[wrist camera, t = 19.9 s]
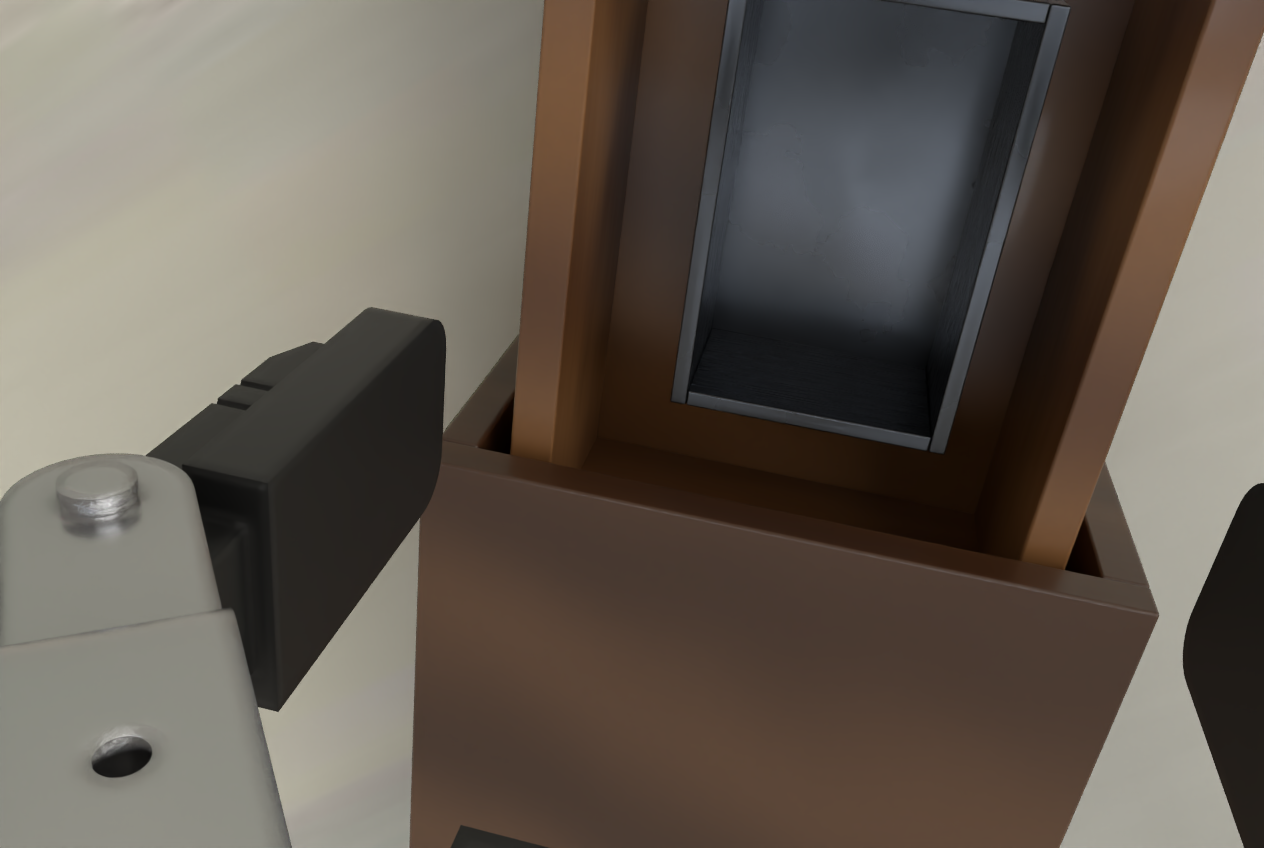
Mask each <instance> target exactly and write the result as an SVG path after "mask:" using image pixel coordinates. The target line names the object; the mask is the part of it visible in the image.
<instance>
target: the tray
mask: <svg viewBox="0 0 1264 848" xmlns="http://www.w3.org/2000/svg"><path fill="white" fill-rule="evenodd" d="M1070 11H1071V6H1070V5H1068V4H1067V3H1066V2H1065V1H1064V0H728V4H727V11H726V18H725V24H724V31H723V38H722V45H721V52H720V59H719V66H718V73H717V80H716V87H715V93H714V100H713V107H712V114H711V121H710V128H709V135H708V142H707V149H706V156H705V163H704V169H703V176H702V183H701V190H700V197H699V204H698V211H697V218H696V225H695V232H694V239H693V245H692V252H691V259H690V266H689V273H688V280H687V287H686V294H685V301H684V308H683V314H682V321H681V328H680V335H679V342H678V349H677V356H676V363H675V370H674V377H673V384H672V390H671V397H670V401H671V402H674V403H679V404H687V405H690V406H695V407H700V408H705V409H710V410H715V411H720V412H726V413H731V414H736V415H741V416H746V417H751V418H757V419H762V420H767V421H772V422H777V423H782V424H787V425H793V426H798V427H803V428H808V429H813V430H818V431H823V432H829V433H834V434H839V435H844V436H849V437H854V438H860V439H865V440H870V441H875V442H880V443H885V444H890V445H896V446H901V447H906V448H911V449H916V450H921V451H927V450H928V451H929V452H932V453H937V454H942V455H944V454H945V451H946V448H947V444H948V441H949V437H950V434H951V430H952V427H953V423H954V420H955V416H956V413H957V409H958V406H959V402H960V399H961V395H962V392H963V388H964V385H965V381H966V378H967V374H968V370H969V367H970V363H971V360H972V356H973V353H974V349H975V346H976V342H977V339H978V335H979V332H980V328H981V325H982V321H983V318H984V314H985V311H986V307H987V304H988V300H989V297H990V293H991V289H992V286H993V282H994V279H995V275H996V272H997V268H998V265H999V261H1000V258H1001V254H1002V251H1003V247H1004V244H1005V240H1006V237H1007V233H1008V230H1009V226H1010V223H1011V219H1012V216H1013V212H1014V208H1015V205H1016V201H1017V198H1018V194H1019V191H1020V187H1021V184H1022V180H1023V177H1024V173H1025V170H1026V166H1027V163H1028V159H1029V156H1030V152H1031V149H1032V145H1033V142H1034V138H1035V135H1036V131H1037V128H1038V124H1039V120H1040V117H1041V113H1042V110H1043V106H1044V103H1045V99H1046V96H1047V92H1048V89H1049V85H1050V82H1051V78H1052V75H1053V71H1054V68H1055V64H1056V61H1057V57H1058V54H1059V50H1060V47H1061V43H1062V39H1063V36H1064V32H1065V29H1066V25H1067V22H1068V18H1069V15H1070Z"/></svg>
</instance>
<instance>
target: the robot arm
mask: <svg viewBox="0 0 1264 848" xmlns="http://www.w3.org/2000/svg"><path fill="white" fill-rule="evenodd" d="M445 363H446V336H445V330H444V327H443V325H442V323H441V322H440V321H439V320H434V319H429V318H424V317H419V316H414V315H409V314H403V313H398V312H393V311H388V310H383V309H378V308H373V307H370V308H367V309H366V310H364V311H363V312H362V313H361V314H359V315H358V316H357V317H356V318H355V319H354V320H352V321H351V322H350V323H349V324H348V325H346V326H345V327H344V328H343V329H342V330H340V331H339V332H338V333H337V334H336V335H335V336H333V337H332V338H331V339H330V340H329V341H327V342H326V343H325V344H322V343H317V342H311V343H308V344H305V345H303V346H300V347H297V348H294V349H292V350H289V351H286V352H283V353H281V354H278V355H275V356H272V357H270V358H268V359H267V360H266V361H265V362H263V363H262V364H261V365H260V366H258V367H257V368H256V369H254V370H253V371H252V372H251V373H249V374H248V375H247V376H246V377H244V378H243V379H242V380H241V384H240V385H236V384H235V385H234V386H233V387H232V388H230V389H229V390H228V391H227V392H225V393H224V394H223V395H222V396H220V397H219V398H218V401H217V404H213V403H211V404H210V405H209V406H208V407H206V408H205V409H204V410H203V411H201V412H200V413H199V414H198V415H196V416H195V417H194V418H192V419H191V420H190V421H189V422H187V423H186V424H185V425H184V426H182V427H181V428H180V429H179V430H177V431H176V432H175V433H174V434H172V435H171V436H170V437H168V438H167V439H166V440H165V441H163V442H162V443H161V444H160V445H158V446H157V447H156V448H155V449H153V450H152V451H151V452H149V453H148V454H147V455H146V456H143V455H134V454H99V455H90V456H83V457H77V458H73V459H69V460H64V461H61V462H58V463H55V464H52V465H49V466H46V467H44V468H41V469H39V470H37V471H34V472H33V473H31V474H29V475H27V476H26V477H24V478H22V479H21V480H19V481H18V482H17V483H15V484H14V485H13V486H12V487H11V488H10V489H9V490H8V491H7V492H6V493H5V494H4V496H3V498H2V499H1V501H0V848H292V846H291V842H290V838H289V834H288V830H287V826H286V821H285V817H284V813H283V809H282V805H281V801H280V797H279V793H278V788H277V784H276V780H275V776H274V772H273V768H272V764H271V760H270V755H269V751H268V747H267V743H266V739H265V735H264V731H263V727H262V723H261V718H260V714H259V710H258V707H261V708H265V709H269V710H273V711H277V712H279V710H280V709H281V708H282V706H283V705H284V703H285V702H286V701H287V699H288V698H289V697H290V695H291V694H292V692H293V691H294V690H295V688H296V687H297V686H298V684H299V683H300V681H301V680H302V679H303V677H304V676H305V675H306V673H307V672H308V671H309V669H310V668H311V666H312V665H313V664H314V662H315V661H316V660H317V658H318V657H319V655H320V654H321V653H322V651H323V650H324V649H325V647H326V646H327V644H328V643H329V642H330V640H331V639H332V638H333V636H334V635H335V633H336V632H337V631H338V629H339V628H340V627H341V625H342V624H343V622H344V621H345V620H346V618H347V617H348V616H349V614H350V613H351V611H352V610H353V609H354V607H355V606H356V605H357V603H358V602H359V600H360V599H361V598H362V596H363V595H364V594H365V592H366V591H367V589H368V588H369V587H370V585H371V584H372V583H373V581H374V580H375V579H376V577H377V576H378V574H379V573H380V572H381V570H382V569H383V568H384V566H385V565H386V563H387V562H388V561H389V559H390V558H391V557H392V555H393V554H394V552H395V551H396V550H397V548H398V547H399V546H400V544H401V543H402V541H403V540H404V539H405V537H406V536H407V535H408V533H409V532H410V530H411V529H412V528H413V526H414V525H415V524H416V522H417V521H418V519H419V518H420V517H421V515H422V514H423V513H424V511H425V510H426V508H427V506H428V504H429V502H430V500H431V498H432V495H433V492H434V490H435V486H436V483H437V479H438V475H439V471H440V465H441V458H442V439H443V413H444V388H445ZM1183 669H1184V676H1185V679H1186V683H1187V686H1188V689H1189V691H1190V694H1191V697H1192V700H1193V703H1194V706H1195V709H1196V711H1197V714H1198V717H1199V720H1200V723H1201V726H1202V729H1203V731H1204V734H1205V737H1206V740H1207V743H1208V746H1209V749H1210V751H1211V754H1212V757H1213V760H1214V763H1215V766H1216V769H1217V771H1218V774H1219V777H1220V780H1221V783H1222V786H1223V789H1224V792H1225V794H1226V797H1227V800H1228V803H1229V806H1230V809H1231V812H1232V814H1233V817H1234V820H1235V823H1236V826H1237V829H1238V832H1239V834H1240V837H1241V840H1242V843H1243V846H1244V848H1264V483H1260V484H1257V485H1255V486H1253V487H1252V488H1251V489H1250V490H1249V491H1248V492H1247V493H1246V495H1245V496H1244V498H1243V499H1242V501H1241V503H1240V505H1239V507H1238V509H1237V511H1236V513H1235V515H1234V518H1233V520H1232V522H1231V524H1230V527H1229V529H1228V531H1227V534H1226V536H1225V538H1224V540H1223V543H1222V545H1221V547H1220V550H1219V552H1218V554H1217V556H1216V559H1215V561H1214V563H1213V565H1212V568H1211V570H1210V572H1209V575H1208V577H1207V579H1206V581H1205V584H1204V586H1203V588H1202V590H1201V593H1200V595H1199V597H1198V600H1197V602H1196V604H1195V606H1194V609H1193V611H1192V613H1191V616H1190V619H1189V622H1188V625H1187V629H1186V634H1185V639H1184V647H1183ZM451 848H549V847H545V846H541V845H537V844H533V843H529V842H525V841H521V840H518V839H514V838H510V837H506V836H502V835H498V834H494V833H490V832H487V831H483V830H479V829H475V828H471V827H467V826H463V825H461V826H460V828H459V830H458V832H457V835H456V837H455V839H454V841H453V843H452V846H451Z"/></svg>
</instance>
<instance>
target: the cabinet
mask: <svg viewBox="0 0 1264 848" xmlns="http://www.w3.org/2000/svg"><path fill="white" fill-rule="evenodd" d="M518 344H519V334H518V336H517V337H516V338H515V340H514V341H513V342H512V344H511V345H510V346H509V348H508V349H507V350H506V351H505V353H504V354H503V355H502V357H501V358H500V359H499V361H498V362H497V363H496V364H495V366H494V367H493V368H492V370H491V371H490V372H489V374H488V375H487V376H486V377H485V379H484V380H483V381H482V383H481V384H480V385H479V387H478V388H477V389H476V391H475V392H474V393H473V394H472V396H471V397H470V398H469V400H468V401H467V402H466V404H465V405H464V406H463V407H462V409H461V410H460V411H459V413H458V414H457V415H456V417H455V418H454V419H453V421H452V422H451V423H450V424H449V426H448V427H447V428H446V430H445V431H444V432H443V439H442V458H441V465H440V471H439V475H438V479H437V483H436V486H435V490H434V492H433V495H432V498H431V500H430V502H429V504H428V506H427V508H426V510H425V511H424V513H423V514H422V515H421V517H420V532H419V563H418V595H417V627H416V658H415V690H414V721H413V753H412V784H411V816H410V847H409V848H451V846H452V843H453V841H454V839H455V837H456V835H457V832H458V830H459V828H460V826H461V825H463V826H467V827H471V828H475V829H479V830H483V831H487V832H490V833H494V834H498V835H502V836H506V837H510V838H514V839H518V840H521V841H525V842H529V843H533V844H537V845H541V846H545V847H549V848H1059V847H1060V845H1061V843H1062V840H1063V838H1064V836H1065V833H1066V831H1067V829H1068V826H1069V824H1070V822H1071V819H1072V817H1073V815H1074V812H1075V810H1076V808H1077V805H1078V803H1079V801H1080V798H1081V796H1082V794H1083V791H1084V789H1085V787H1086V785H1087V782H1088V780H1089V778H1090V775H1091V773H1092V771H1093V768H1094V766H1095V764H1096V761H1097V759H1098V757H1099V754H1100V752H1101V750H1102V747H1103V745H1104V743H1105V740H1106V738H1107V736H1108V733H1109V731H1110V729H1111V726H1112V724H1113V722H1114V719H1115V717H1116V715H1117V712H1118V710H1119V708H1120V705H1121V703H1122V701H1123V698H1124V696H1125V694H1126V692H1127V689H1128V687H1129V685H1130V682H1131V680H1132V678H1133V675H1134V673H1135V671H1136V668H1137V666H1138V664H1139V661H1140V659H1141V657H1142V654H1143V652H1144V650H1145V647H1146V645H1147V643H1148V640H1149V638H1150V636H1151V633H1152V631H1153V629H1154V626H1155V624H1156V622H1157V619H1158V617H1159V613H1158V610H1157V607H1156V604H1155V601H1154V598H1153V596H1152V593H1151V590H1150V589H1149V584H1148V581H1147V578H1146V575H1145V572H1144V570H1143V567H1142V564H1141V561H1140V558H1139V556H1138V553H1137V550H1136V547H1135V544H1134V541H1133V539H1132V536H1131V533H1130V530H1129V527H1128V525H1127V522H1126V519H1125V516H1124V513H1123V511H1122V508H1121V505H1120V502H1119V499H1118V496H1117V494H1116V491H1115V488H1114V485H1113V482H1112V480H1111V477H1110V474H1109V471H1108V468H1107V466H1106V463H1105V462H1104V465H1103V467H1102V470H1101V473H1100V475H1099V478H1098V481H1097V484H1096V486H1095V489H1094V492H1093V494H1092V497H1091V500H1090V502H1089V505H1088V508H1087V511H1086V513H1085V516H1084V519H1083V521H1082V524H1081V527H1080V529H1079V532H1078V535H1077V538H1076V540H1075V543H1074V546H1073V548H1072V551H1071V554H1070V556H1069V559H1068V562H1067V565H1066V567H1065V570H1061V569H1056V568H1052V567H1047V566H1042V565H1037V564H1032V563H1028V562H1023V561H1018V560H1013V559H1008V558H1004V557H999V556H994V555H989V554H984V553H980V552H975V551H970V550H965V549H960V548H956V547H951V546H946V545H941V544H936V543H932V542H927V541H922V540H917V539H912V538H908V537H903V536H898V535H893V534H888V533H884V532H879V531H874V530H869V529H864V528H860V527H855V526H850V525H845V524H840V523H836V522H831V521H826V520H821V519H816V518H812V517H807V516H802V515H797V514H792V513H788V512H783V511H778V510H773V509H768V508H764V507H759V506H754V505H749V504H744V503H740V502H735V501H730V500H725V499H720V498H716V497H711V496H706V495H701V494H696V493H692V492H687V491H682V490H677V489H672V488H668V487H663V486H658V485H653V484H648V483H644V482H639V481H634V480H629V479H624V478H620V477H615V476H610V475H605V474H600V473H596V472H591V471H586V470H581V469H576V468H572V467H567V466H562V465H557V464H552V463H548V462H543V461H538V460H533V459H528V458H524V457H519V456H514V455H510V450H511V437H512V424H513V410H514V397H515V384H516V371H517V357H518Z"/></svg>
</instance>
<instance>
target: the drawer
mask: <svg viewBox="0 0 1264 848" xmlns="http://www.w3.org/2000/svg"><path fill="white" fill-rule="evenodd" d="M1064 1H1065V2H1066V3H1067V4H1068V5H1070V6H1071V11H1070V15H1069V18H1068V22H1067V25H1066V29H1065V32H1064V36H1063V39H1062V43H1061V47H1060V50H1059V54H1058V57H1057V61H1056V64H1055V68H1054V71H1053V75H1052V78H1051V82H1050V85H1049V89H1048V92H1047V96H1046V99H1045V103H1044V106H1043V110H1042V113H1041V117H1040V120H1039V124H1038V128H1037V131H1036V135H1035V138H1034V142H1033V145H1032V149H1031V152H1030V156H1029V159H1028V163H1027V166H1026V170H1025V173H1024V177H1023V180H1022V184H1021V187H1020V191H1019V194H1018V198H1017V201H1016V205H1015V208H1014V212H1013V216H1012V219H1011V223H1010V226H1009V230H1008V233H1007V237H1006V240H1005V244H1004V247H1003V251H1002V254H1001V258H1000V261H999V265H998V268H997V272H996V275H995V279H994V282H993V286H992V289H991V293H990V297H989V300H988V304H987V307H986V311H985V314H984V318H983V321H982V325H981V328H980V332H979V335H978V339H977V342H976V346H975V349H974V353H973V356H972V360H971V363H970V367H969V370H968V374H967V378H966V381H965V385H964V388H963V392H962V395H961V399H960V402H959V406H958V409H957V413H956V416H955V420H954V423H953V427H952V430H951V434H950V437H949V441H948V444H947V448H946V451H945V454H944V455H942V454H937V453H932V452H929V451H928V450H927V451H921V450H916V449H911V448H906V447H901V446H896V445H890V444H885V443H880V442H875V441H870V440H865V439H860V438H854V437H849V436H844V435H839V434H834V433H829V432H823V431H818V430H813V429H808V428H803V427H798V426H793V425H787V424H782V423H777V422H772V421H767V420H762V419H757V418H751V417H746V416H741V415H736V414H731V413H726V412H720V411H715V410H710V409H705V408H700V407H695V406H690V405H687V404H679V403H674V402H671V401H670V397H671V390H672V384H673V377H674V370H675V363H676V356H677V349H678V342H679V335H680V328H681V321H682V314H683V308H684V301H685V294H686V287H687V280H688V273H689V266H690V259H691V252H692V245H693V239H694V232H695V225H696V218H697V211H698V204H699V197H700V190H701V183H702V176H703V169H704V163H705V156H706V149H707V142H708V135H709V128H710V121H711V114H712V107H713V100H714V93H715V87H716V80H717V73H718V66H719V59H720V52H721V45H722V38H723V31H724V24H725V18H726V11H727V4H728V0H544V12H543V25H542V39H541V52H540V65H539V78H538V92H537V105H536V118H535V132H534V145H533V158H532V171H531V185H530V198H529V211H528V225H527V238H526V251H525V264H524V278H523V291H522V304H521V318H520V331H519V344H518V357H517V371H516V384H515V397H514V410H513V424H512V437H511V450H510V455H514V456H519V457H524V458H528V459H533V460H538V461H543V462H548V463H552V464H557V465H562V466H567V467H572V468H576V469H581V470H586V471H591V472H596V473H600V474H605V475H610V476H615V477H620V478H624V479H629V480H634V481H639V482H644V483H648V484H653V485H658V486H663V487H668V488H672V489H677V490H682V491H687V492H692V493H696V494H701V495H706V496H711V497H716V498H720V499H725V500H730V501H735V502H740V503H744V504H749V505H754V506H759V507H764V508H768V509H773V510H778V511H783V512H788V513H792V514H797V515H802V516H807V517H812V518H816V519H821V520H826V521H831V522H836V523H840V524H845V525H850V526H855V527H860V528H864V529H869V530H874V531H879V532H884V533H888V534H893V535H898V536H903V537H908V538H912V539H917V540H922V541H927V542H932V543H936V544H941V545H946V546H951V547H956V548H960V549H965V550H970V551H975V552H980V553H984V554H989V555H994V556H999V557H1004V558H1008V559H1013V560H1018V561H1023V562H1028V563H1032V564H1037V565H1042V566H1047V567H1052V568H1056V569H1061V570H1065V567H1066V565H1067V562H1068V559H1069V556H1070V554H1071V551H1072V548H1073V546H1074V543H1075V540H1076V538H1077V535H1078V532H1079V529H1080V527H1081V524H1082V521H1083V519H1084V516H1085V513H1086V511H1087V508H1088V505H1089V502H1090V500H1091V497H1092V494H1093V492H1094V489H1095V486H1096V484H1097V481H1098V478H1099V475H1100V473H1101V470H1102V467H1103V465H1104V462H1105V459H1106V457H1107V454H1108V451H1109V448H1110V446H1111V443H1112V440H1113V438H1114V435H1115V432H1116V430H1117V427H1118V424H1119V421H1120V419H1121V416H1122V413H1123V411H1124V408H1125V405H1126V402H1127V400H1128V397H1129V394H1130V392H1131V389H1132V386H1133V384H1134V381H1135V378H1136V375H1137V373H1138V370H1139V367H1140V365H1141V362H1142V359H1143V357H1144V354H1145V351H1146V348H1147V346H1148V343H1149V340H1150V338H1151V335H1152V332H1153V330H1154V327H1155V324H1156V321H1157V319H1158V316H1159V313H1160V311H1161V308H1162V305H1163V303H1164V300H1165V297H1166V294H1167V292H1168V289H1169V286H1170V284H1171V281H1172V278H1173V276H1174V273H1175V270H1176V267H1177V265H1178V262H1179V259H1180V257H1181V254H1182V251H1183V249H1184V246H1185V243H1186V240H1187V238H1188V235H1189V232H1190V230H1191V227H1192V224H1193V222H1194V219H1195V216H1196V213H1197V211H1198V208H1199V205H1200V203H1201V200H1202V197H1203V195H1204V192H1205V189H1206V186H1207V184H1208V181H1209V178H1210V176H1211V173H1212V170H1213V168H1214V165H1215V162H1216V159H1217V157H1218V154H1219V151H1220V149H1221V146H1222V143H1223V140H1224V138H1225V135H1226V132H1227V130H1228V127H1229V124H1230V122H1231V119H1232V116H1233V113H1234V111H1235V108H1236V105H1237V103H1238V100H1239V97H1240V95H1241V92H1242V89H1243V86H1244V84H1245V81H1246V78H1247V76H1248V73H1249V70H1250V68H1251V65H1252V62H1253V59H1254V57H1255V54H1256V51H1257V49H1258V46H1259V43H1260V41H1261V38H1262V35H1263V32H1264V0H1064Z"/></svg>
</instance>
